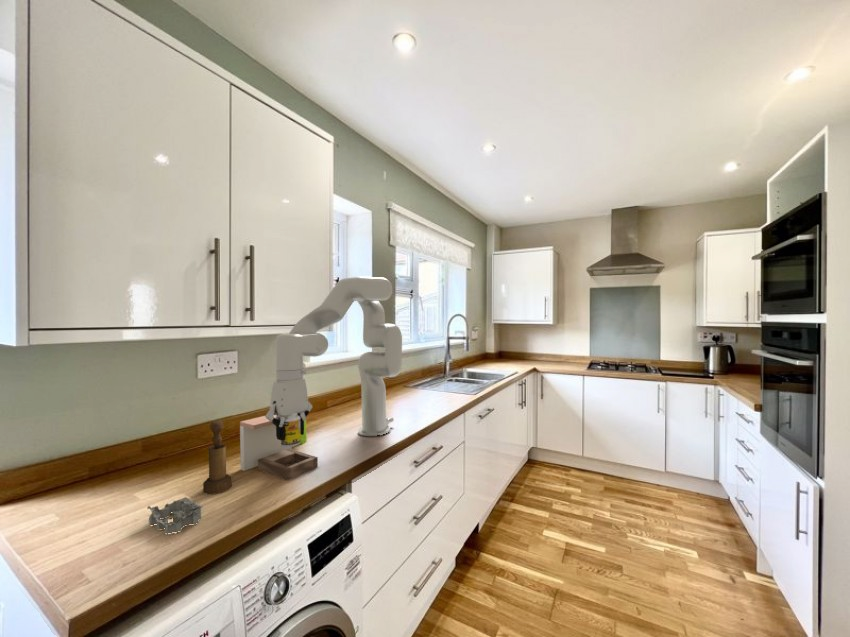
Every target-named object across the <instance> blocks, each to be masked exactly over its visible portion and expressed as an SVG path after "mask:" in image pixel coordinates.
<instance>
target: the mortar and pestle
mask: <svg viewBox="0 0 850 637" xmlns="http://www.w3.org/2000/svg"><path fill="white" fill-rule="evenodd" d="M209 427H210V431H211V432H212V433H213V437H212V444H213V445H211V446H209V447H208V477H207V478H206V480H205V481H203V483H202V485H203V487H202V490H203V494H206V495H216V494H217V495H218V494H222V493H225V492H226V491H229V490H231V488H232V485H233V483H232V480H233V479H232V476H231V475H229V474H227V444H224V443H223V444H222V441H223V436H221V432H222V430H223V428H224V422H223V421H222V420H221V419H216V420H213V421H212V422H211V423H210V425H209Z"/></svg>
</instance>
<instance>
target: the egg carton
mask: <svg viewBox="0 0 850 637" xmlns="http://www.w3.org/2000/svg"><path fill="white" fill-rule="evenodd" d="M202 508H203V505H201V504H198V503H197V501H192V500H190V499H189V498H188V497H186V496H185V497H182V498H179V499H178V500H173V502H171V503H166V504H165V505H164V507H163V508H162V509H161V508H159V506H158V505H156V506H153V507H151V506H150V505H148V506H147V509H148V510H150V511H151V514H150V515H149V517H148V523H149V526H150V525H154V524H157V525H156V530H157V529H164V528H165V529H164V534H165V533H167V534H168V533H172V532H178V531H181V532H182V529H183V528H182V527H183V526H185V525H189V524H196V523H198V524H199V521H200V520H199V519H201V520H202V514H201V513H202V511H201V510H202ZM171 512H173V513H171ZM170 513H171V514H172V518H173V522H172V523H168V519H169V517H170V516H169V515H171V514H170ZM167 516H169V517H167ZM165 517H167V518H165ZM160 518H165V519H160ZM198 520H199V521H198ZM196 525H197V524H196ZM181 528H182V529H181Z"/></svg>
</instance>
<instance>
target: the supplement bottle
mask: <svg viewBox="0 0 850 637" xmlns="http://www.w3.org/2000/svg"><path fill="white" fill-rule="evenodd" d="M283 426H285V440H283V441H282V440H281V446H283V447H292V448H293V447H296V446H299V445H301V444H300V442H301V428H300V416H299V415H298V414H297V413H293V414H291V415H288V416H286V417H285V420H284V424H283Z"/></svg>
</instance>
